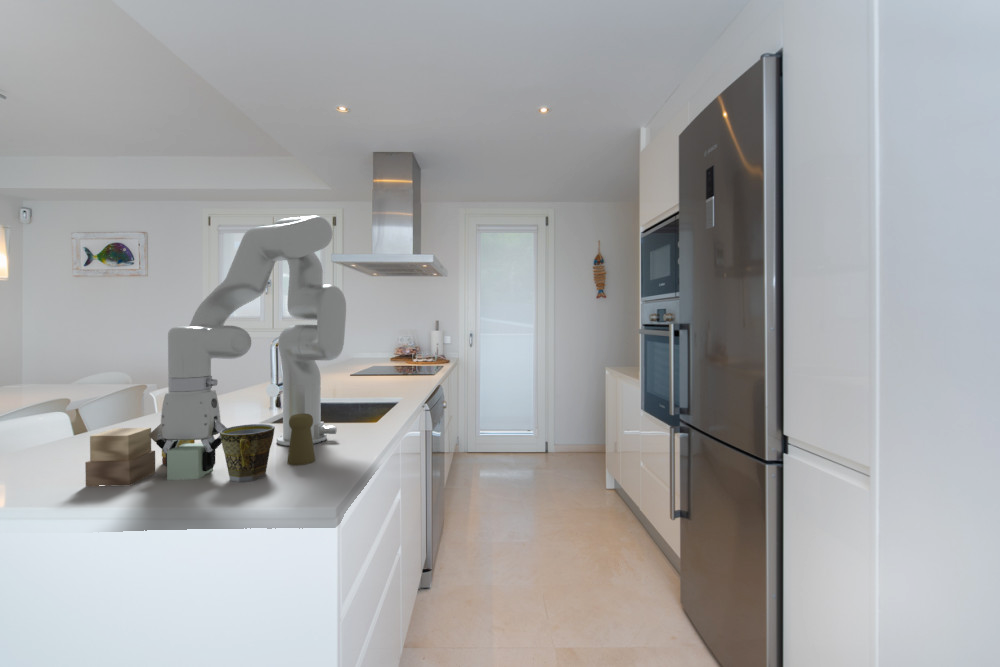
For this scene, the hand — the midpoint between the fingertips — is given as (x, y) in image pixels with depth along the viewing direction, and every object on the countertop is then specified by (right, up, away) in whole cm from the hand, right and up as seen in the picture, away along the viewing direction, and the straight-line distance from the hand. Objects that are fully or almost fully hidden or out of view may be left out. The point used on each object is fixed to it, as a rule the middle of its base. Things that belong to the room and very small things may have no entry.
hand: (190, 469), depth 99 cm
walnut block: (-12, -1, -3) cm, 12 cm away
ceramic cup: (+13, -1, -3) cm, 14 cm away
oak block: (-12, +4, -3) cm, 13 cm away
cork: (+19, -1, +10) cm, 22 cm away
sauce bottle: (-9, -1, +9) cm, 13 cm away
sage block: (0, -1, 0) cm, 1 cm away
